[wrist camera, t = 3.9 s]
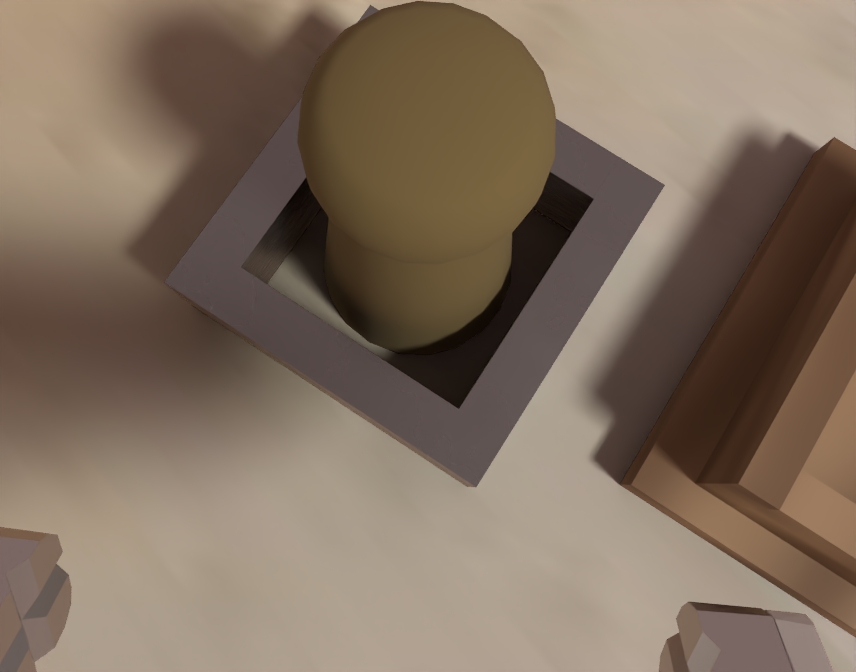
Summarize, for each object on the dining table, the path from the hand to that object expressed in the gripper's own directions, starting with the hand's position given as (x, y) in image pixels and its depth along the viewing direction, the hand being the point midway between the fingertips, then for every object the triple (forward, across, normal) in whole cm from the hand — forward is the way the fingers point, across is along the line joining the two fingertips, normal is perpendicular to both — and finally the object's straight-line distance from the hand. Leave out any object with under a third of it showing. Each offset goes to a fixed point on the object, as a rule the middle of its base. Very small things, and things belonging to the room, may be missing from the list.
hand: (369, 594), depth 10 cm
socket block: (+15, 0, +4) cm, 16 cm away
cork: (+15, 0, +4) cm, 16 cm away
